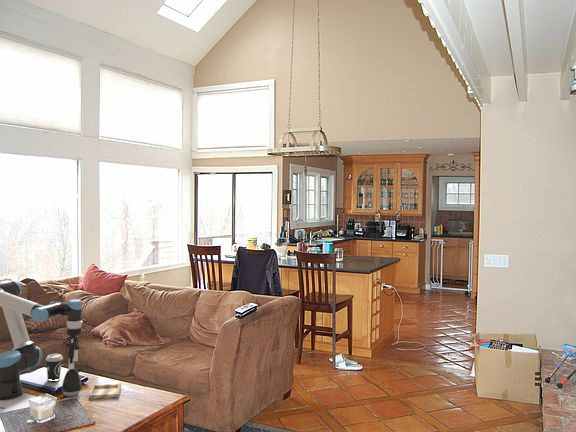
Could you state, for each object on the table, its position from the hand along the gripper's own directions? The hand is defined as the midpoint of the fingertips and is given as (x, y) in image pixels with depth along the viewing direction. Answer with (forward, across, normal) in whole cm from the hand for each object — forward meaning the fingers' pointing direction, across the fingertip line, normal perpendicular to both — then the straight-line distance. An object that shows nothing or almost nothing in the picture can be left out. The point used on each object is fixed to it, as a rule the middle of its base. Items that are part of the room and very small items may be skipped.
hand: (73, 364), depth 292 cm
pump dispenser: (+18, 0, 0) cm, 18 cm away
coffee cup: (+17, +25, +14) cm, 34 cm away
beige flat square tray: (+17, 0, -18) cm, 25 cm away
